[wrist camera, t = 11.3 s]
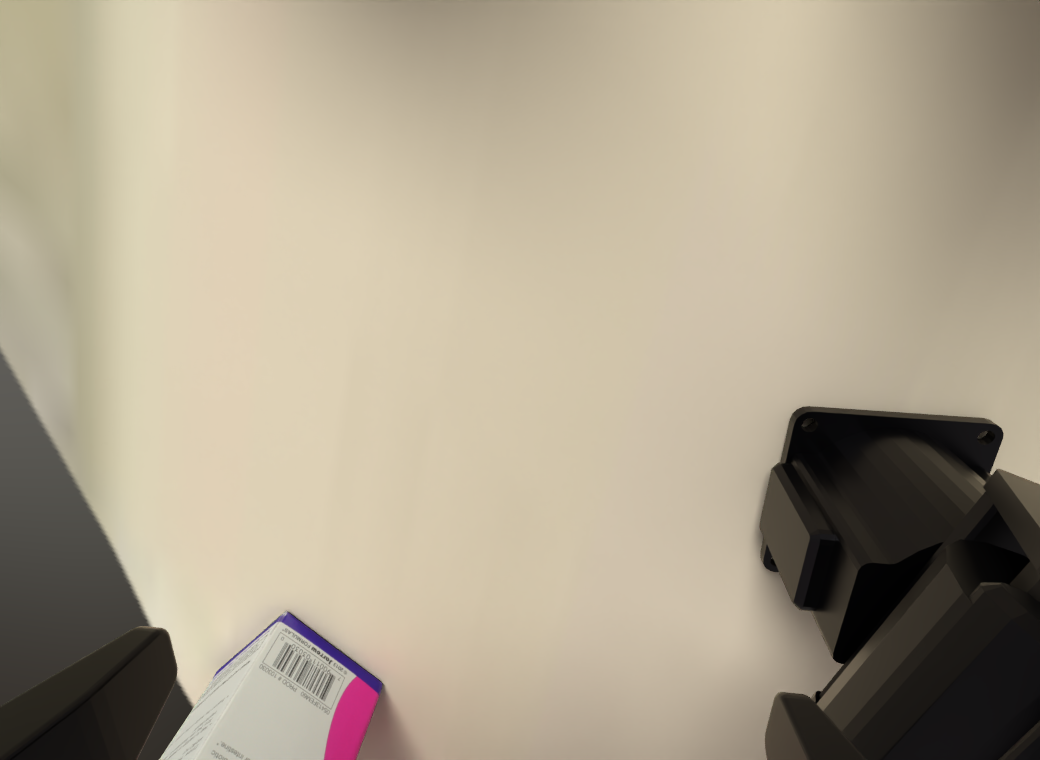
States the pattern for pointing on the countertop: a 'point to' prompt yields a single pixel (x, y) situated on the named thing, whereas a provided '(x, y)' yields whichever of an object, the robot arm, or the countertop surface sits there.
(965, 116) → the countertop surface
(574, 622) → the countertop surface
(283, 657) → the supplement box
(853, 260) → the countertop surface
